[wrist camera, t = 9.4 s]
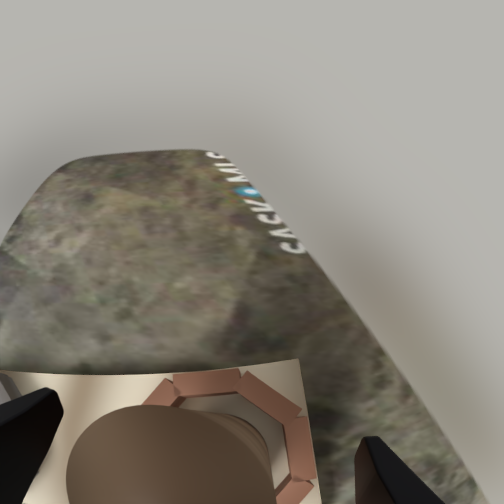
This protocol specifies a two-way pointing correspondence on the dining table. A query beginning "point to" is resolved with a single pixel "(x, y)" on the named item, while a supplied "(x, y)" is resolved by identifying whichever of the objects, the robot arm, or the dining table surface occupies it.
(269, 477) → the walnut peg
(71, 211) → the dining table surface
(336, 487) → the dining table surface
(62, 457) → the socket rail
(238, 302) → the dining table surface
